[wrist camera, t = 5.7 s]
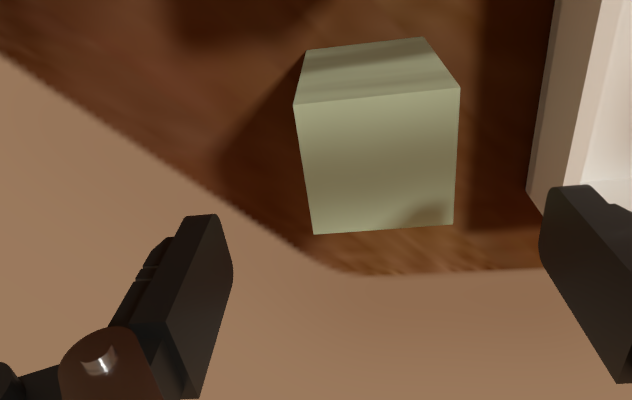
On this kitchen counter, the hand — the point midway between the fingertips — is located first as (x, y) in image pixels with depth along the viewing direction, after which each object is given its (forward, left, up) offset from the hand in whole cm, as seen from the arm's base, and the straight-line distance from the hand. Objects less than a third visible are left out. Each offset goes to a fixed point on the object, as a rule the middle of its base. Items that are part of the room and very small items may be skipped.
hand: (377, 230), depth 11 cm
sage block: (0, 0, -9) cm, 9 cm away
